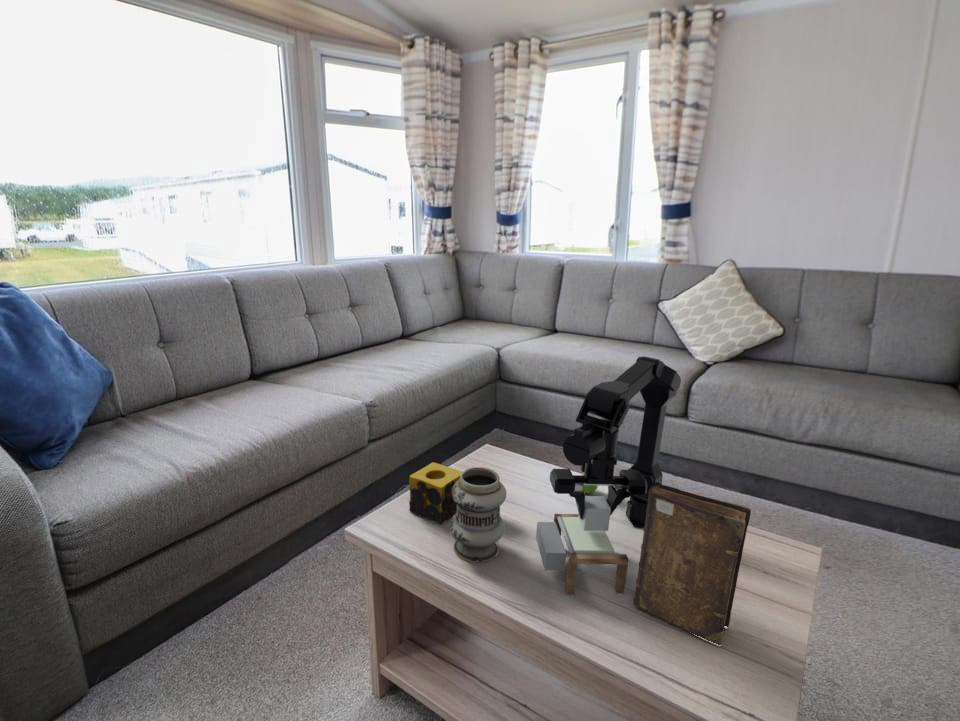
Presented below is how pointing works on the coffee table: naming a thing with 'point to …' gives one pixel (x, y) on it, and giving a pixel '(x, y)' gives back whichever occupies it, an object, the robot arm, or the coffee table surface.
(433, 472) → the candle
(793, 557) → the coffee table surface
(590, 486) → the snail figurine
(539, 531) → the trapdoor
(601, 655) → the coffee table surface
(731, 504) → the book
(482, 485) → the apothecary jar
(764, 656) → the coffee table surface
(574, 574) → the walnut frame
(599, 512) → the slate grey block
